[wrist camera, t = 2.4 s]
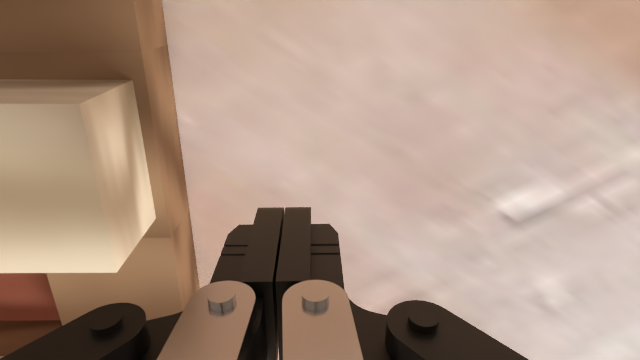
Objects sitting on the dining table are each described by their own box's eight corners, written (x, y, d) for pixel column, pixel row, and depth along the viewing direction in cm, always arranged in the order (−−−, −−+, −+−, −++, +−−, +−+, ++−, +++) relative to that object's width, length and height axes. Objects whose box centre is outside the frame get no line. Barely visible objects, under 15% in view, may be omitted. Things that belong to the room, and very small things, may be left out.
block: (-26, 79, 16) (-128, 103, 12) (132, 80, 16) (79, 103, 12) (18, 218, 18) (-56, 273, 15) (155, 218, 18) (116, 272, 15)
